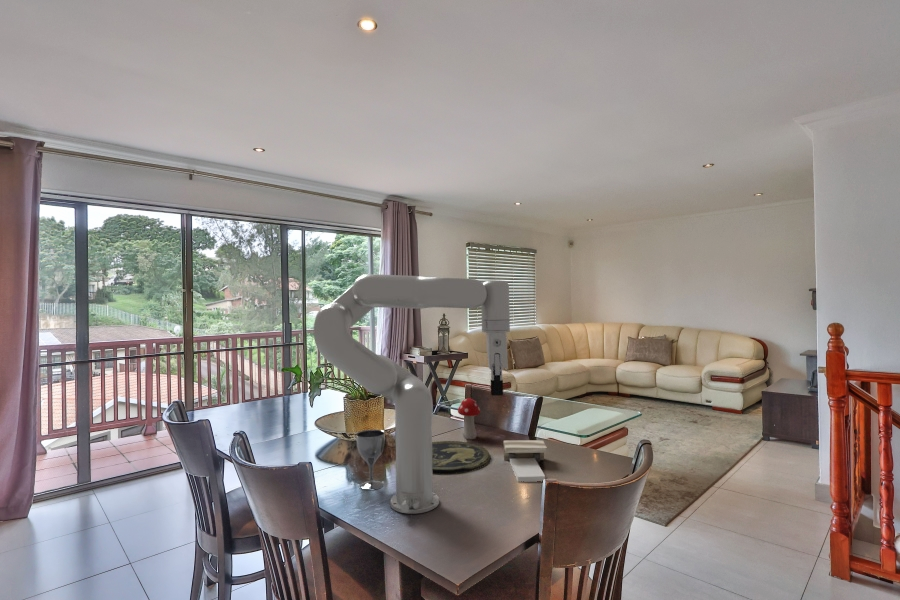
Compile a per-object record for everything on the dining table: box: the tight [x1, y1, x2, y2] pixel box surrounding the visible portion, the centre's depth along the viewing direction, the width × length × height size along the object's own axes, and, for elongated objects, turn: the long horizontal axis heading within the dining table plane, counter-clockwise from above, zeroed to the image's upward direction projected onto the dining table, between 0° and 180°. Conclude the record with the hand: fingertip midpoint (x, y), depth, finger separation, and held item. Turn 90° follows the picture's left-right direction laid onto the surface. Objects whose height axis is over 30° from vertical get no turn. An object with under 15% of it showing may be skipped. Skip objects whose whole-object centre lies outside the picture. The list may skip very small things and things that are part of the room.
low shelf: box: [503, 439, 548, 463], centre depth 150 cm, size 8×13×6 cm, turn 87°
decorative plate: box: [432, 440, 491, 475], centre depth 156 cm, size 30×2×30 cm
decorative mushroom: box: [457, 397, 481, 440], centre depth 180 cm, size 10×9×15 cm
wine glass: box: [356, 429, 386, 490], centre depth 133 cm, size 8×8×15 cm
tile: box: [509, 458, 546, 483], centre depth 142 cm, size 16×8×2 cm, turn 1°
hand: (496, 394), depth 125 cm, fingers closed
